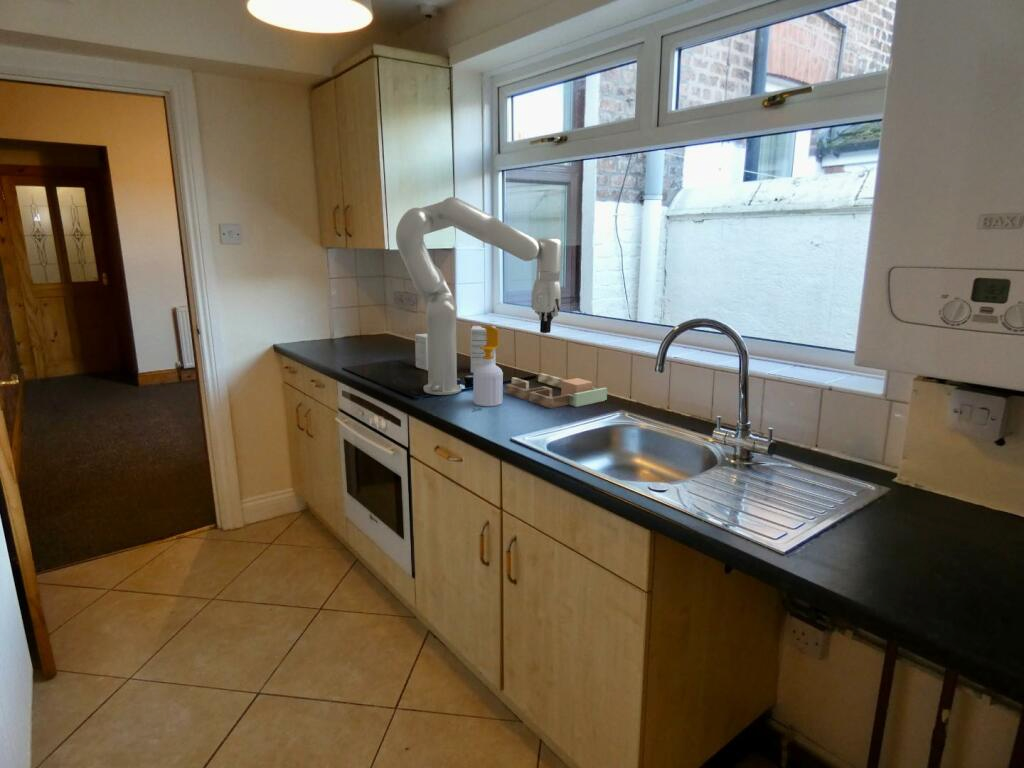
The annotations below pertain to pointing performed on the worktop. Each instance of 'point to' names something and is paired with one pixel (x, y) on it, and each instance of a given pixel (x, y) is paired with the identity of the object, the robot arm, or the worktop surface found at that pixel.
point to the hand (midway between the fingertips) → (545, 332)
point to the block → (575, 386)
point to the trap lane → (540, 391)
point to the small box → (421, 351)
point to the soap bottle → (488, 374)
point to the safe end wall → (590, 397)
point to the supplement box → (478, 346)
